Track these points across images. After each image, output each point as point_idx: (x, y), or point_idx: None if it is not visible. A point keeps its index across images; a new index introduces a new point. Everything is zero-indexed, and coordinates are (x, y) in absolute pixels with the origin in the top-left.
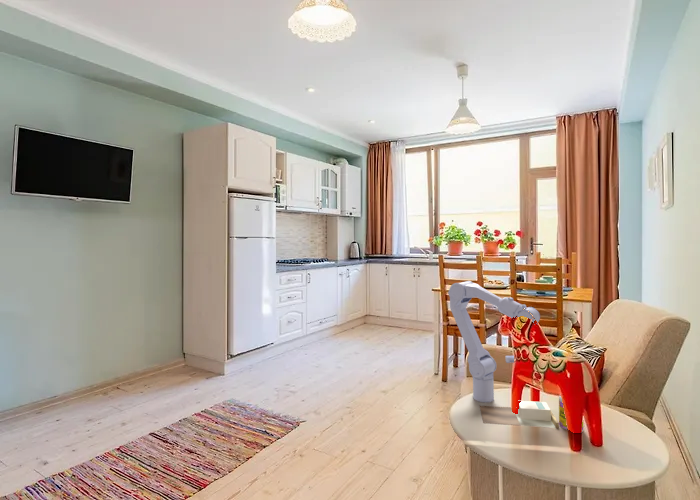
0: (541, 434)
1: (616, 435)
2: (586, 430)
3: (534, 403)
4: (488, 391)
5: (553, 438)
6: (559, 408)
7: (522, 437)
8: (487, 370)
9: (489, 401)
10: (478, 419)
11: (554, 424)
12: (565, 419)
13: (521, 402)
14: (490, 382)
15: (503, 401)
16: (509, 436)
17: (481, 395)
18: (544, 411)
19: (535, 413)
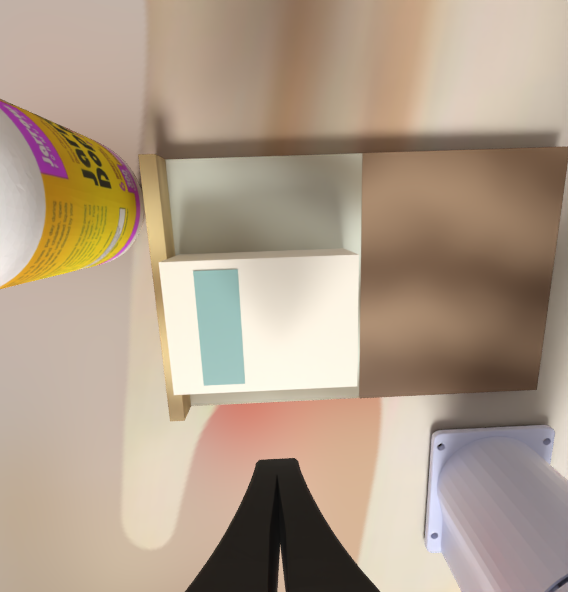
0: (256, 99)
1: None
2: None
3: (251, 357)
4: (516, 491)
5: (199, 56)
6: (86, 190)
7: (368, 34)
8: None
9: (472, 449)
10: (561, 236)
11: (167, 194)
12: (82, 139)
13: (334, 358)
14: (545, 555)
15: (382, 490)
16: (438, 33)
17: (540, 465)
18: (203, 259)
19: (262, 255)
